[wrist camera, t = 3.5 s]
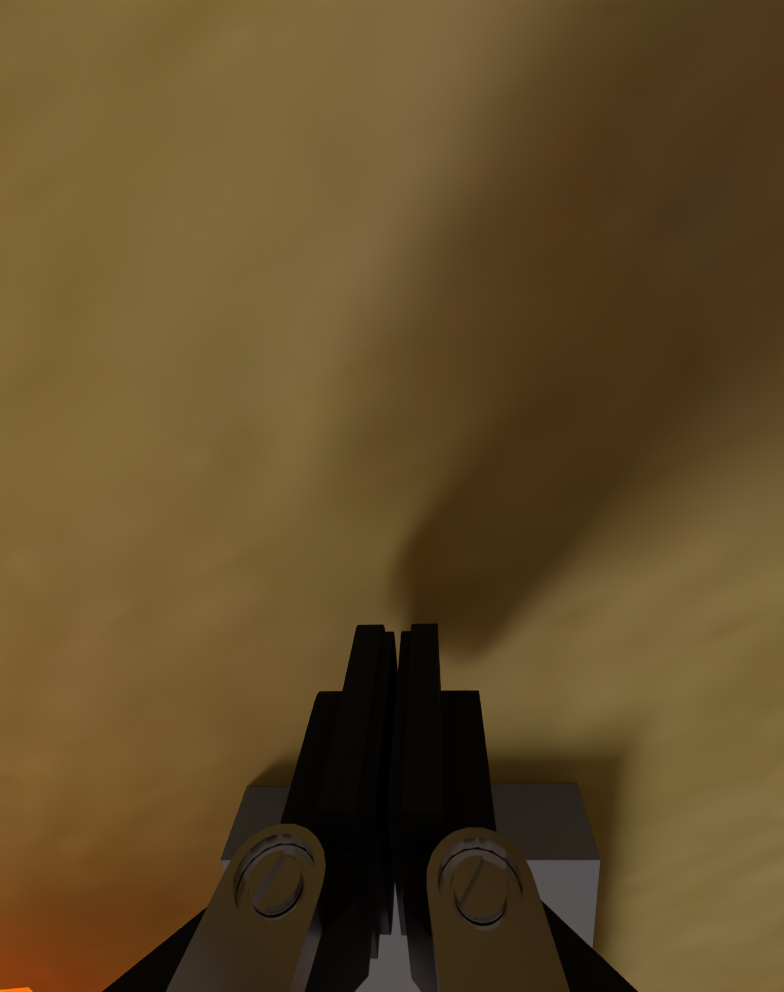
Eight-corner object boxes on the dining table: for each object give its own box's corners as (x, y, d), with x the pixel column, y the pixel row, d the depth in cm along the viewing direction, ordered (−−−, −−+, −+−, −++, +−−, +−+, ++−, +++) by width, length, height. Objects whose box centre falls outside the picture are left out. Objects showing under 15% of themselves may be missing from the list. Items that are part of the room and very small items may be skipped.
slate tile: (251, 771, 14) (220, 860, 12) (571, 766, 13) (600, 860, 11) (325, 1021, 20) (313, 1115, 17) (558, 1029, 19) (576, 1128, 16)
